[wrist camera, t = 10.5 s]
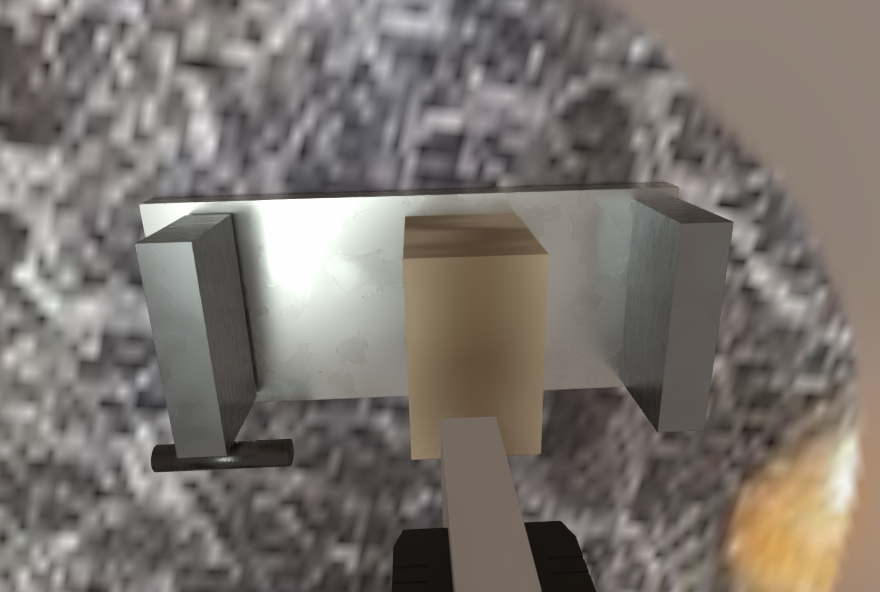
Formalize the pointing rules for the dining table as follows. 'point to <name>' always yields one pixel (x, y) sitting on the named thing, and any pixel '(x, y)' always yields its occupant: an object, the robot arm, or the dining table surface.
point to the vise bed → (382, 283)
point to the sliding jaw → (203, 347)
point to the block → (474, 327)
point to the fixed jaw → (673, 310)
